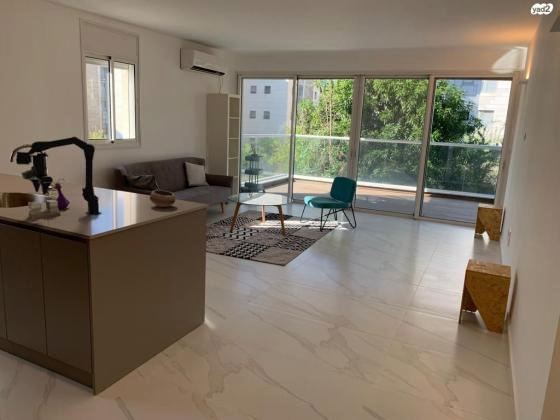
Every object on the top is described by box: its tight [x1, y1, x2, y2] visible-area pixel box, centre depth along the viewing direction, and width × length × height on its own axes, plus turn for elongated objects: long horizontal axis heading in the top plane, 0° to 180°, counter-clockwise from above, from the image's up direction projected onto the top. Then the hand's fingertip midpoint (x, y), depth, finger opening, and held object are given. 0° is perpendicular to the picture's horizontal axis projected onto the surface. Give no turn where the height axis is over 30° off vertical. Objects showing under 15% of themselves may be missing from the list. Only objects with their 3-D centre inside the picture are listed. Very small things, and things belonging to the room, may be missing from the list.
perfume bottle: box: [53, 178, 71, 210], centre depth 258 cm, size 8×8×18 cm
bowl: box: [149, 189, 176, 208], centre depth 280 cm, size 16×16×10 cm
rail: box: [27, 201, 61, 220], centre depth 239 cm, size 6×14×8 cm, turn 140°
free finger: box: [45, 199, 58, 213], centre depth 242 cm, size 5×4×6 cm
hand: (40, 193), depth 240 cm, fingers open, 9 cm apart
